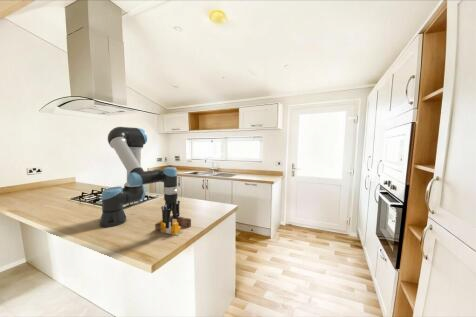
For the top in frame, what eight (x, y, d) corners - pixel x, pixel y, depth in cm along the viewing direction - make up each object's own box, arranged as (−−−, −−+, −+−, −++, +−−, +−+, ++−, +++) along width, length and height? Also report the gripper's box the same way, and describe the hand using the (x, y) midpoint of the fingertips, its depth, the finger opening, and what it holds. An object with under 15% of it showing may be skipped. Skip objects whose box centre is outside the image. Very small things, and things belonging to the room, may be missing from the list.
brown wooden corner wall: (155, 231, 114) (155, 223, 113) (172, 222, 127) (172, 215, 127) (175, 236, 108) (175, 228, 108) (191, 226, 122) (190, 218, 121)
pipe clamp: (180, 231, 113) (180, 221, 112) (175, 234, 109) (175, 224, 109) (166, 227, 118) (166, 217, 118) (160, 230, 115) (160, 220, 114)
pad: (160, 231, 113) (160, 231, 113) (166, 228, 118) (166, 227, 118) (177, 235, 109) (177, 235, 109) (183, 232, 113) (183, 231, 113)
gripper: (164, 197, 102) (165, 238, 104) (185, 190, 118) (185, 226, 120) (154, 196, 105) (155, 236, 107) (175, 189, 121) (176, 224, 123)
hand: (171, 230), depth 113 cm, fingers closed on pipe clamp, 5 cm apart
